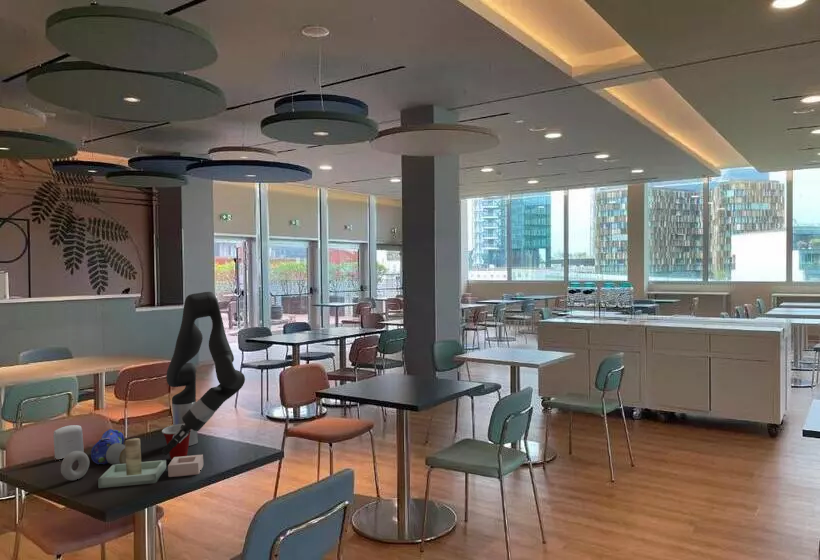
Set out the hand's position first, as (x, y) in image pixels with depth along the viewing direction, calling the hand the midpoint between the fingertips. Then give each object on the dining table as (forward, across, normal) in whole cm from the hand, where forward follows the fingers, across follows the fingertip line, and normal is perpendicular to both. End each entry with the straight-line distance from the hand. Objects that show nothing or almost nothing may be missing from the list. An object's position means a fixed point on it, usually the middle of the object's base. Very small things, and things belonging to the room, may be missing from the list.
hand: (166, 449), depth 213 cm
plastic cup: (+6, -19, +6) cm, 21 cm away
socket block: (+2, -2, +10) cm, 11 cm away
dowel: (+13, 0, -2) cm, 14 cm away
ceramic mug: (+20, -19, -7) cm, 29 cm away
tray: (+14, 0, -2) cm, 14 cm away
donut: (+28, -4, -16) cm, 33 cm away
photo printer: (+38, -35, -25) cm, 57 cm away
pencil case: (+26, -30, -14) cm, 42 cm away
